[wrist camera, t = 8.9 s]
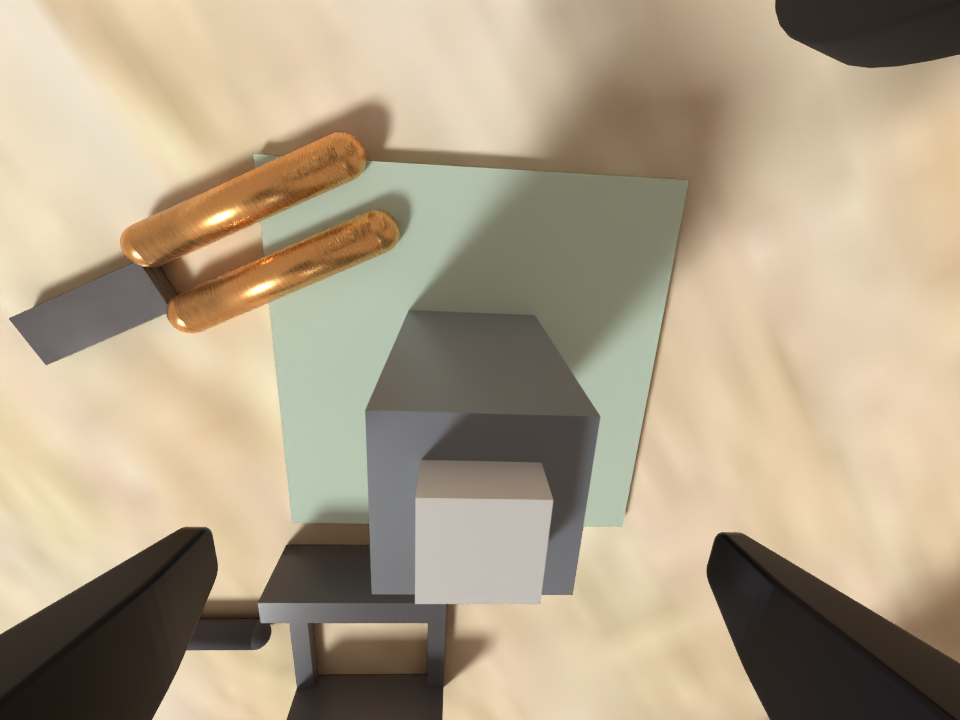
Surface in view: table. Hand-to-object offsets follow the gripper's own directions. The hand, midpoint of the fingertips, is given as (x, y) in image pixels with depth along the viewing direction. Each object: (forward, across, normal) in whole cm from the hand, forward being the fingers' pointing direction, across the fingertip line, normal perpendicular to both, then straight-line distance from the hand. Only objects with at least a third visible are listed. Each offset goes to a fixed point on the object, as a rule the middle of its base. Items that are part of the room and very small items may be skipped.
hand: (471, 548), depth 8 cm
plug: (+9, 0, 0) cm, 9 cm away
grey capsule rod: (+10, +13, +13) cm, 21 cm away
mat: (+10, 0, 0) cm, 10 cm away
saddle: (+10, +4, +13) cm, 17 cm away
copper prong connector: (+10, +9, -3) cm, 14 cm away
